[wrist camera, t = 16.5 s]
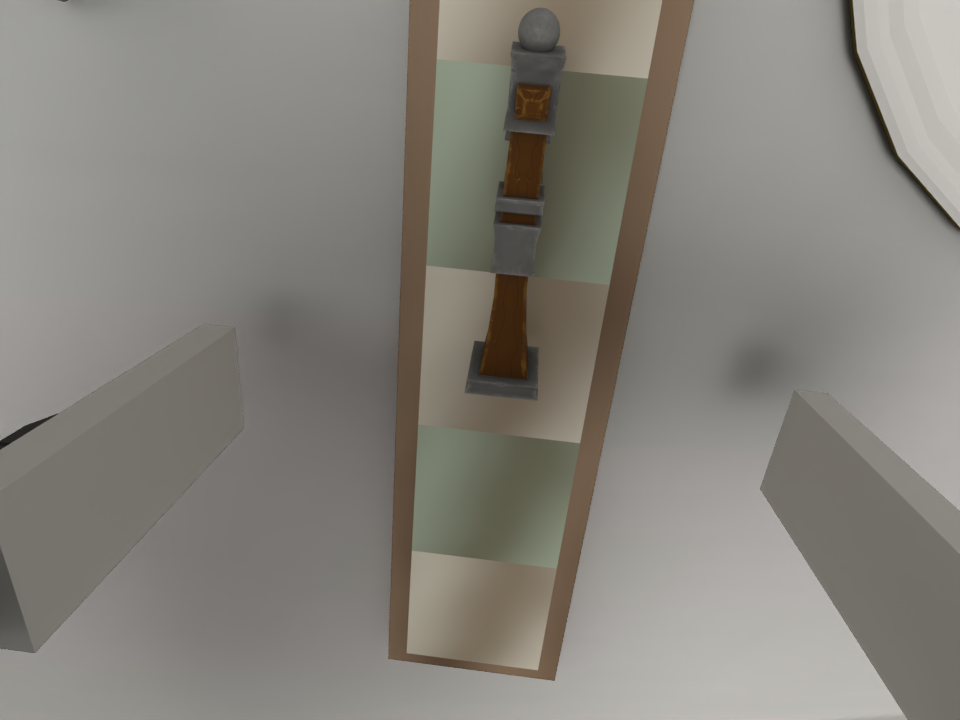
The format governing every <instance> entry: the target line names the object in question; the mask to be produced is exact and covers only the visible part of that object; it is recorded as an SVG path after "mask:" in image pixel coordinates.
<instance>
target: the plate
mask: <svg viewBox="0 0 960 720" xmlns="http://www.w3.org/2000/svg"><path fill="white" fill-rule="evenodd" d="M849 5H850V17H851V28H852V39H853V50H854V54H855V57H856V59H857V62H858V64H859V67H860V69H861V72H862V74H863V77H864V79H865V82H866V84H867V87H868V89H869V92H870V94H871V97H872V100H873V102H874V105H875V107H876V110H877V112H878V115H879V117H880V120H881V122H882V125H883V127H884V130H885V132H886V135H887V137H888V140H889V142H890V145H891V148H892V150H893V153H894V155H895V156H896V157H897V159H898V160H899V161H900V162H901V163H902V164H903V166H904V167H905V168H906V169H907V170H908V171H909V172H910V174H911V175H912V176H913V177H914V178H915V179H916V181H917V182H918V183H919V184H920V185H921V186H922V188H923V189H924V190H925V191H926V192H927V193H928V194H929V196H930V197H931V198H932V199H933V200H934V201H935V203H936V204H937V205H938V206H939V207H940V208H941V209H942V211H943V212H944V213H945V214H946V215H947V216H948V218H949V219H950V220H951V221H952V222H953V223H954V225H955V226H956V227H957V228H958V229H959V230H960V0H849Z"/></svg>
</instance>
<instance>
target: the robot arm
mask: <svg viewBox="0 0 960 720" xmlns="http://www.w3.org/2000/svg"><path fill="white" fill-rule="evenodd" d="M243 429H244V421H243V410H242V399H241V389H240V378H239V367H238V356H237V345H236V334H235V327H226V326H217V325H208V324H203V325H201V326H199V327H198V328H196V329H194V330H193V331H191V332H190V333H188V334H186V335H185V336H183V337H182V338H180V339H178V340H177V341H175V342H174V343H172V344H170V345H169V346H167V347H165V348H164V349H162V350H161V351H159V352H157V353H156V354H154V355H153V356H151V357H149V358H148V359H146V360H144V361H143V362H141V363H140V364H138V365H136V366H135V367H133V368H132V369H130V370H128V371H127V372H125V373H123V374H122V375H120V376H119V377H117V378H115V379H114V380H112V381H111V382H109V383H107V384H106V385H104V386H102V387H101V388H99V389H98V390H96V391H94V392H93V393H91V394H90V395H88V396H86V397H85V398H83V399H81V400H80V401H78V402H77V403H75V404H73V405H72V406H70V407H69V408H67V409H65V410H64V411H62V412H61V413H59V414H56V415H53V416H50V417H48V418H45V419H42V420H40V421H37V422H34V423H31V424H29V425H26V426H24V427H22V428H21V429H19V430H17V431H16V432H14V433H12V434H11V435H9V436H7V437H6V438H4V439H2V440H1V441H0V648H1V649H8V650H15V651H23V652H30V653H36V652H37V650H38V649H39V648H40V647H41V646H42V645H43V644H44V643H45V642H46V641H47V640H48V639H49V638H50V636H51V635H52V634H53V633H54V632H55V631H56V630H57V629H58V628H59V627H60V626H61V625H62V624H63V622H64V621H65V620H66V619H67V618H68V617H69V616H70V615H71V614H72V613H73V612H74V611H75V610H76V608H77V607H78V606H79V605H80V604H81V603H82V602H83V601H84V600H85V599H86V598H87V597H88V596H89V594H90V593H91V592H92V591H93V590H94V589H95V588H96V587H97V586H98V585H99V584H100V583H101V582H102V580H103V579H104V578H105V577H106V576H107V575H108V574H109V573H110V572H111V571H112V570H113V569H114V568H115V566H116V565H117V564H118V563H119V562H120V561H121V560H122V559H123V558H124V557H125V556H126V555H127V554H128V552H129V551H130V550H131V549H132V548H133V547H134V546H135V545H136V544H137V543H138V542H139V541H140V540H141V538H142V537H143V536H144V535H145V534H146V533H147V532H148V531H149V530H150V529H151V528H152V527H153V526H154V524H155V523H156V522H157V521H158V520H159V519H160V518H161V517H162V516H163V515H164V514H165V513H166V512H167V510H168V509H169V508H170V507H171V506H172V505H173V504H174V503H175V502H176V501H177V500H178V499H179V498H180V496H181V495H182V494H183V493H184V492H185V491H186V490H187V489H188V488H189V487H190V486H191V485H192V484H193V482H194V481H195V480H196V479H197V478H198V477H199V476H200V475H201V474H202V473H203V472H204V471H205V470H206V468H207V467H208V466H209V465H210V464H211V463H212V462H213V461H214V460H215V459H216V458H217V457H218V456H219V454H220V453H221V452H222V451H223V450H224V449H225V448H226V447H227V446H228V445H229V444H230V443H231V442H232V440H233V439H234V438H235V437H236V436H237V435H238V434H239V433H240V432H241V431H242V430H243ZM760 490H761V491H762V493H763V494H764V496H765V497H766V499H767V501H768V502H769V504H770V505H771V507H772V508H773V510H774V512H775V513H776V515H777V516H778V518H779V519H780V521H781V522H782V524H783V526H784V527H785V529H786V530H787V532H788V533H789V535H790V537H791V538H792V540H793V541H794V543H795V544H796V546H797V547H798V549H799V551H800V552H801V554H802V555H803V557H804V558H805V560H806V562H807V563H808V565H809V566H810V568H811V569H812V571H813V573H814V574H815V576H816V577H817V579H818V580H819V582H820V583H821V585H822V587H823V588H824V590H825V591H826V593H827V594H828V596H829V598H830V599H831V601H832V602H833V604H834V605H835V607H836V608H837V610H838V612H839V613H840V615H841V616H842V618H843V619H844V621H845V623H846V624H847V626H848V627H849V629H850V630H851V632H852V633H853V635H854V637H855V638H856V640H857V641H858V643H859V644H860V646H861V648H862V649H863V651H864V652H865V654H866V655H867V657H868V658H869V660H870V662H871V663H872V665H873V666H874V668H875V669H876V671H877V673H878V674H879V676H880V677H881V679H882V680H883V682H884V684H885V685H886V687H887V688H888V690H889V691H890V693H891V694H892V696H893V698H894V699H895V701H896V702H897V704H898V705H899V707H900V709H901V710H902V712H903V713H904V715H905V716H906V718H907V719H908V720H960V511H959V510H958V509H957V508H956V507H955V506H954V505H952V504H951V503H950V502H949V501H948V500H947V499H946V498H945V497H944V496H942V495H941V494H940V493H939V492H938V491H937V490H936V489H935V488H933V487H932V486H931V485H930V484H929V483H928V482H927V481H926V480H925V479H923V478H922V477H921V476H920V475H919V474H918V473H917V472H916V471H914V470H913V469H912V468H911V467H910V466H909V465H908V464H907V463H905V462H904V461H903V460H902V459H901V458H900V457H899V456H898V455H897V454H895V453H894V452H893V451H892V450H891V449H890V448H889V447H888V446H886V445H885V444H884V443H883V442H882V441H881V440H880V439H879V438H878V437H876V436H875V435H874V434H873V433H872V432H871V431H870V430H869V429H867V428H866V427H865V426H864V425H863V424H862V423H861V422H860V421H858V420H857V419H856V418H855V417H854V416H853V415H852V414H851V413H850V412H848V411H847V410H846V409H845V408H844V407H843V406H842V405H841V404H839V403H838V402H837V401H836V400H835V399H834V398H833V397H832V396H831V395H829V394H828V393H819V392H810V391H801V390H794V392H793V395H792V398H791V401H790V404H789V407H788V410H787V413H786V415H785V418H784V421H783V424H782V427H781V430H780V433H779V435H778V438H777V441H776V444H775V447H774V450H773V453H772V456H771V458H770V461H769V464H768V467H767V470H766V473H765V476H764V479H763V481H762V484H761V487H760Z"/></svg>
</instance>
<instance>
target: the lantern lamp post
mask: <svg viewBox="0 0 960 720" xmlns="http://www.w3.org/2000/svg"><path fill="white" fill-rule="evenodd" d="M559 37H560V24H559V21H558V19H557V17H556V16H555V14H554V13H553V12H552V11H550V10H548V9H547V8H535V9H532V10H530V11H529V12H528V13H526V14H525V16H524V17H523V18H522V20H521V22H520V24H519V29H518V38H519V41H520V42H517V41H513V42H512V47H511V77H510V88H509V98H508V108H507V112H506V116H505V122H504V129H503V131H506V134H505V140H506V141H510V142H509V150H508V158H507V166H506V171H505V177H504V182H503V181H499V185H498V191H497V196H496V204H495V209H494V211H496V213H495V218H494V223H493V225H494V234H495V240H494V253H493V258H492V264H491V270H490V273H496V277H495V289H494V298H493V304H492V310H491V316H490V322H489V328H488V332H487V336H486V339H485V342H484V341H474V345H473V350H472V354H471V360H470V365H469V371H468V376H467V381H466V387H465V392H464V393H467V394H476V395H486V396H495V397H505V398H514V399H523V400H533V401H538V367H539V357H538V356H539V347H533V346H528V343H527V333H526V310H527V283H528V277H534V265H535V252H536V246H537V240H538V237H539V234H540V231H541V222H542V216H544V204H545V185H543V171H542V169H543V161H544V154H545V146H546V144H550V143H551V135H554V136H555V117H556V110H557V103H558V97H559V90H560V83H561V77H562V72H563V68H564V65H565V62H566V59H567V55H566V49H565V46H558V45H557V43H558V41H559Z"/></svg>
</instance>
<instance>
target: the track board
mask: <svg viewBox="0 0 960 720" xmlns="http://www.w3.org/2000/svg"><path fill="white" fill-rule="evenodd" d="M693 3H694V0H410V12H409V42H408V73H407V104H406V135H405V165H404V196H403V227H402V257H401V288H400V319H399V350H398V380H397V411H396V442H395V473H394V503H393V534H392V565H391V596H390V626H389V657H388V659H394V660H401V661H409V662H417V663H424V664H432V665H439V666H447V667H454V668H462V669H470V670H477V671H485V672H492V673H500V674H508V675H515V676H523V677H530V678H538V679H545V680H553V681H555V676H556V671H557V666H558V661H559V656H560V651H561V647H562V642H563V637H564V632H565V627H566V622H567V617H568V612H569V608H570V603H571V598H572V593H573V588H574V583H575V578H576V573H577V569H578V564H579V559H580V554H581V549H582V544H583V539H584V534H585V530H586V525H587V520H588V515H589V510H590V505H591V500H592V495H593V491H594V486H595V481H596V476H597V471H598V466H599V461H600V456H601V452H602V447H603V442H604V437H605V432H606V427H607V422H608V417H609V413H610V408H611V403H612V398H613V393H614V388H615V383H616V378H617V374H618V369H619V364H620V359H621V354H622V349H623V344H624V339H625V335H626V330H627V325H628V320H629V315H630V310H631V305H632V300H633V296H634V291H635V286H636V281H637V276H638V271H639V266H640V261H641V256H642V252H643V247H644V242H645V237H646V232H647V227H648V222H649V217H650V213H651V208H652V203H653V198H654V193H655V188H656V183H657V178H658V174H659V169H660V164H661V159H662V154H663V149H664V144H665V139H666V135H667V130H668V125H669V120H670V115H671V110H672V105H673V100H674V96H675V91H676V86H677V81H678V76H679V71H680V66H681V61H682V57H683V52H684V47H685V42H686V37H687V32H688V27H689V22H690V18H691V13H692V8H693ZM535 8H547V9H548V10H550V11H552V12H553V13H554V14H555V16H556V17H557V19H558V21H559V24H560V37H559V41H558V43H557V45H558V46H565V49H566V55H567V59H566V62H565V65H564V68H563V72H562V77H561V83H560V90H559V97H558V103H557V110H556V117H555V136H554V135H551V143H550V144H546V146H545V154H544V161H543V169H542V171H543V185H545V204H544V216H542V222H541V231H540V234H539V237H538V240H537V246H536V252H535V265H534V277H528V283H527V310H526V333H527V343H528V346H533V347H539V356H538V357H539V367H538V401H533V400H523V399H514V398H505V397H495V396H486V395H476V394H467V393H464V392H465V387H466V381H467V376H468V371H469V365H470V360H471V354H472V350H473V345H474V341H484V342H485V339H486V336H487V332H488V328H489V322H490V316H491V310H492V304H493V298H494V289H495V277H496V273H490V270H491V264H492V258H493V253H494V240H495V234H494V225H493V223H494V218H495V213H496V211H494V209H495V204H496V196H497V191H498V185H499V181H503V182H504V177H505V171H506V166H507V158H508V150H509V142H510V141H506V140H505V134H506V131H503V129H504V122H505V116H506V112H507V108H508V98H509V88H510V77H511V47H512V42H513V41H517V42H520V41H519V38H518V29H519V24H520V22H521V20H522V18H523V17H524V16H525V14H526V13H528V12H529V11H530V10H532V9H535Z"/></svg>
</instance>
